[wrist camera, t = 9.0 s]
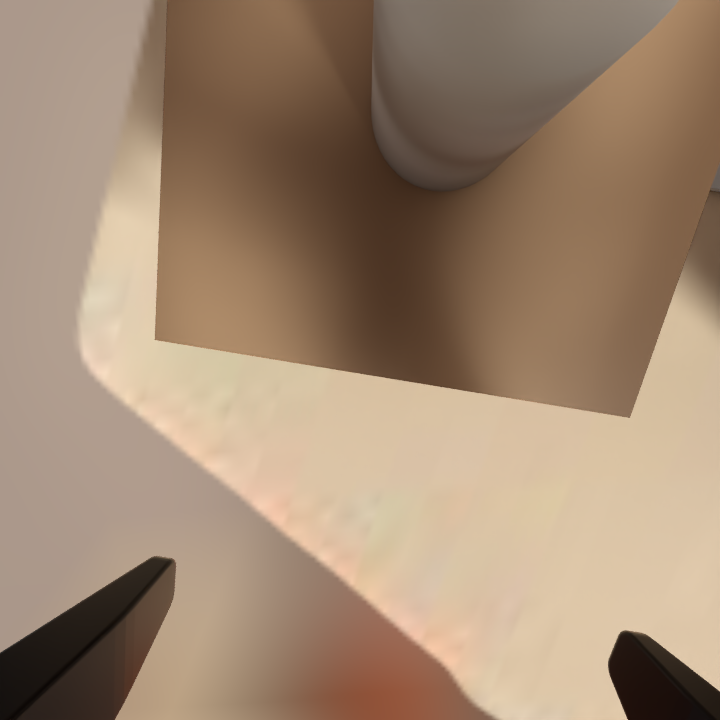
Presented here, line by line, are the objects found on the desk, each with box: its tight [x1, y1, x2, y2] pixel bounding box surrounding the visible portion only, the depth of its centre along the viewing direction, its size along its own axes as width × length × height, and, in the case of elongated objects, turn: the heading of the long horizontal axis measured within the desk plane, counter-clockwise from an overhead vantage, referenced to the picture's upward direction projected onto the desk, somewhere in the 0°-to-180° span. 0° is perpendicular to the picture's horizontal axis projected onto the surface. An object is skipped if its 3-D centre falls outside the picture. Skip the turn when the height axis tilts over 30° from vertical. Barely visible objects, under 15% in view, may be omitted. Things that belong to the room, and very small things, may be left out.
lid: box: [155, 0, 720, 418], centre depth 6 cm, size 12×12×5 cm
